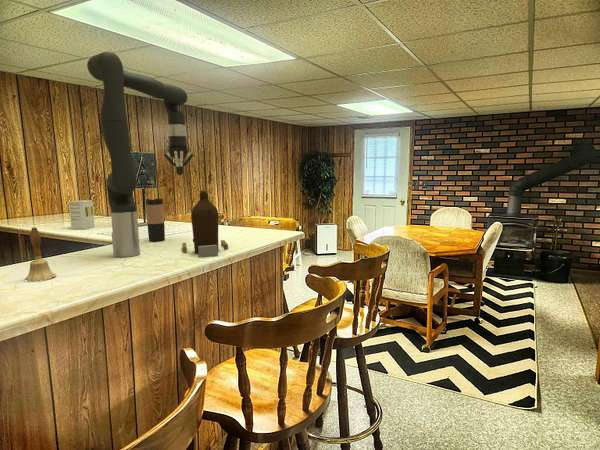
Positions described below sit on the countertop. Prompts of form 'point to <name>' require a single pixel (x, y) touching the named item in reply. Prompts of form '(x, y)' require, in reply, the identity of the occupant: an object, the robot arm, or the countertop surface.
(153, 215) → the travel mug
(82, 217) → the supplement box
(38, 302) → the countertop surface
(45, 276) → the hand bell
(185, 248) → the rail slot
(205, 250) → the block
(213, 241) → the olive oil
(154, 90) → the robot arm
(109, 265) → the countertop surface
